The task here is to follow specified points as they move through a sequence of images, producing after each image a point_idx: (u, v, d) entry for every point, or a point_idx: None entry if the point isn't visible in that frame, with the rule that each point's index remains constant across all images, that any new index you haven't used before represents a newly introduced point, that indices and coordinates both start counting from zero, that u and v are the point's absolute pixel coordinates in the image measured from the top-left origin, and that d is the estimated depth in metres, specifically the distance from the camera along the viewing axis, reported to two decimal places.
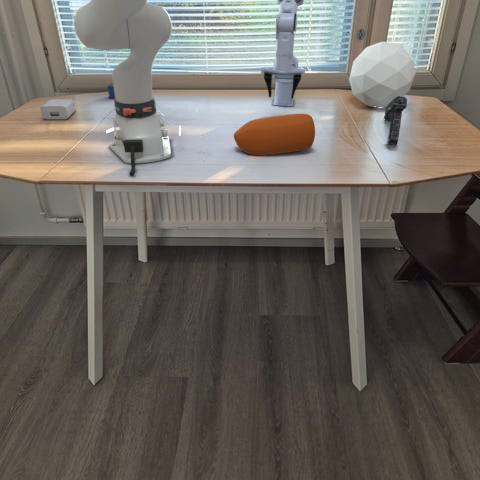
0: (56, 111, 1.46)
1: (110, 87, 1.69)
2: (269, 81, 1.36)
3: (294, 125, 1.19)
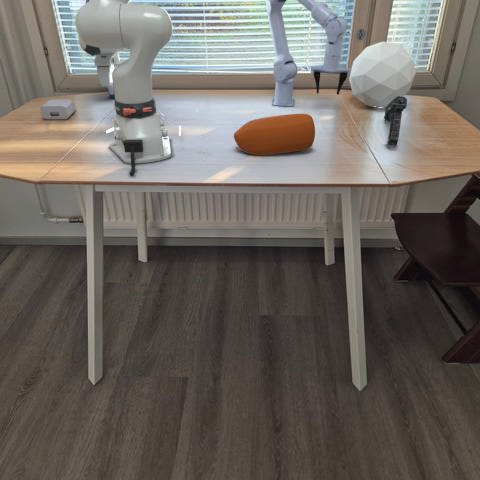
0: (56, 111, 1.46)
1: None
2: (318, 79, 1.52)
3: (294, 125, 1.19)
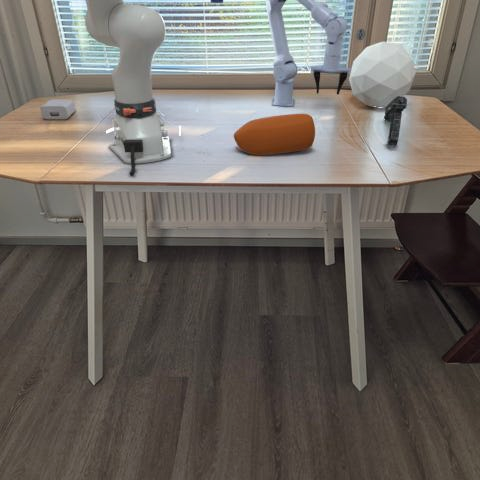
0: (56, 111, 1.46)
1: None
2: (318, 79, 1.52)
3: (294, 125, 1.19)
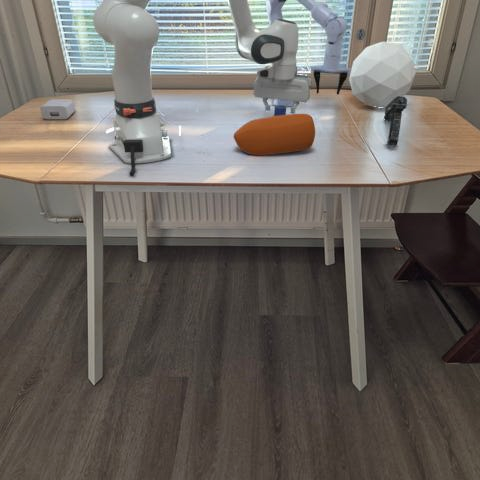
0: (56, 111, 1.46)
1: None
2: (318, 79, 1.52)
3: (294, 125, 1.19)
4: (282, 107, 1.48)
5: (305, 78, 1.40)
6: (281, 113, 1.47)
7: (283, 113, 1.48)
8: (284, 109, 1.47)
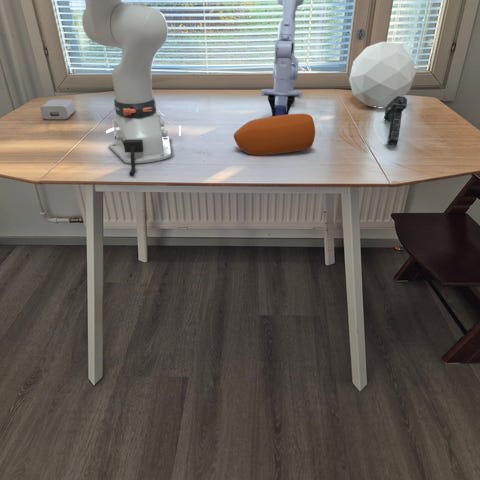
0: (56, 111, 1.46)
1: None
2: (273, 102, 1.45)
3: (294, 125, 1.19)
4: (282, 107, 1.48)
5: None
6: (281, 113, 1.47)
7: (283, 113, 1.48)
8: (284, 109, 1.47)
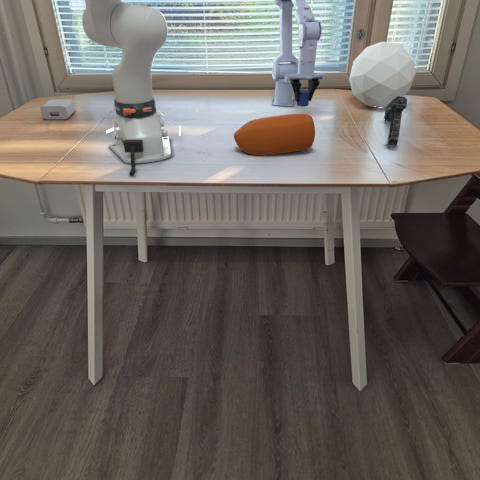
0: (56, 111, 1.46)
1: None
2: (299, 87, 1.43)
3: (294, 125, 1.19)
4: (306, 91, 1.46)
5: None
6: (307, 97, 1.45)
7: (308, 97, 1.46)
8: (309, 93, 1.45)
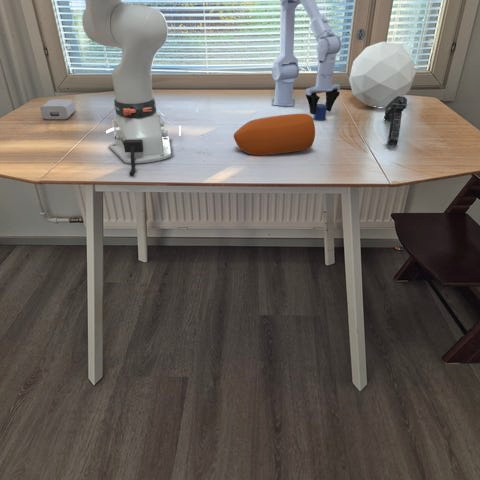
0: (56, 111, 1.46)
1: None
2: (317, 100, 1.45)
3: (294, 125, 1.19)
4: (324, 105, 1.50)
5: None
6: (325, 111, 1.50)
7: None
8: (326, 107, 1.50)
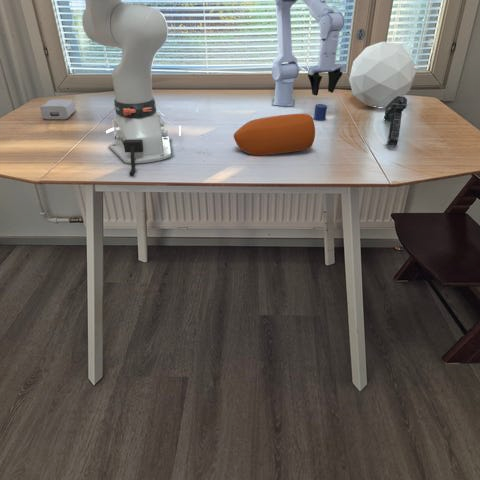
0: (56, 111, 1.46)
1: (315, 106, 1.50)
2: (320, 80, 1.41)
3: (294, 125, 1.19)
4: (324, 105, 1.50)
5: None
6: (325, 111, 1.50)
7: None
8: (326, 107, 1.50)
